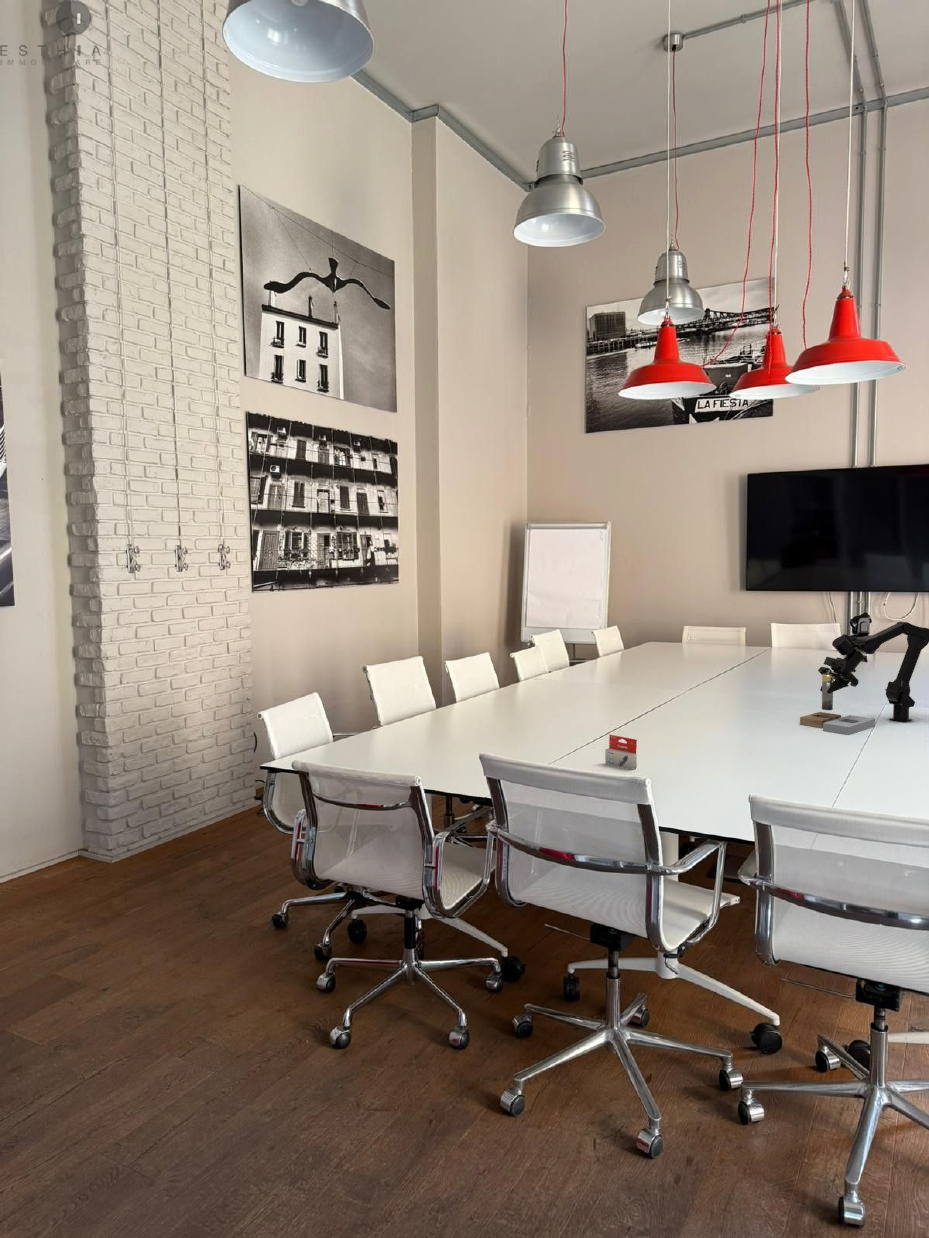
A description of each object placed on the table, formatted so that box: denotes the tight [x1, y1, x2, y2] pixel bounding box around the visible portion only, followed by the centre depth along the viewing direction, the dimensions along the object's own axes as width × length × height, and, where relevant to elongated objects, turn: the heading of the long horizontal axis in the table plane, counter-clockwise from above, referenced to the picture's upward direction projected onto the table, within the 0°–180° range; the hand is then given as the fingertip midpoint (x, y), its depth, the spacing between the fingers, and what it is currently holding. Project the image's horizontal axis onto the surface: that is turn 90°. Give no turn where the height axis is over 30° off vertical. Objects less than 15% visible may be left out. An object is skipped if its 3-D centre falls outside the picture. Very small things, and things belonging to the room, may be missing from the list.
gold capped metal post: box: [821, 674, 834, 711], centre depth 327 cm, size 4×4×14 cm
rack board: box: [822, 714, 876, 736], centre depth 321 cm, size 22×10×3 cm, turn 130°
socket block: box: [799, 711, 842, 729], centre depth 330 cm, size 16×9×3 cm, turn 130°
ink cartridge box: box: [604, 734, 638, 771], centre depth 269 cm, size 2×11×10 cm, turn 44°
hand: (824, 691), depth 327 cm, fingers closed on gold capped metal post, 4 cm apart
